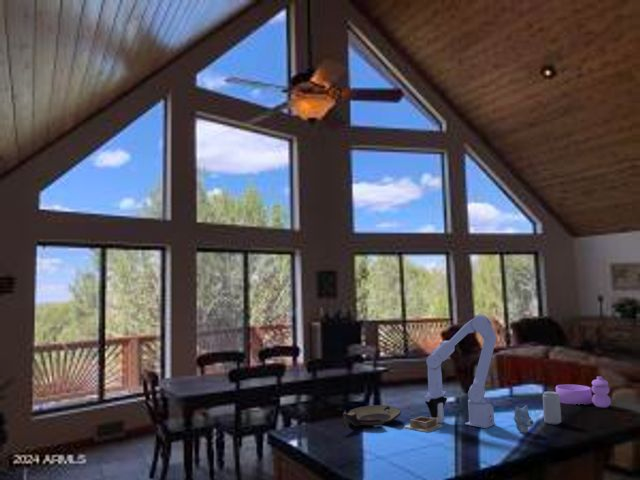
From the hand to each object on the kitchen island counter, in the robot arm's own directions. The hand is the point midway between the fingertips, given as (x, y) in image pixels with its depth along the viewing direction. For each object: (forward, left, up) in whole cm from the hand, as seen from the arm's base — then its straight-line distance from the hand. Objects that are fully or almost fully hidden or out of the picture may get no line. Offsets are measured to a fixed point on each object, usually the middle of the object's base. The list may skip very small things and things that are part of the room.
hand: (436, 416), depth 222 cm
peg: (0, 0, -2) cm, 2 cm away
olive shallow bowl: (+21, +19, -3) cm, 29 cm away
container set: (-34, -71, -3) cm, 79 cm away
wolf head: (-35, -6, -3) cm, 36 cm away
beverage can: (-37, -27, -3) cm, 46 cm away
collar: (0, +10, -2) cm, 10 cm away
